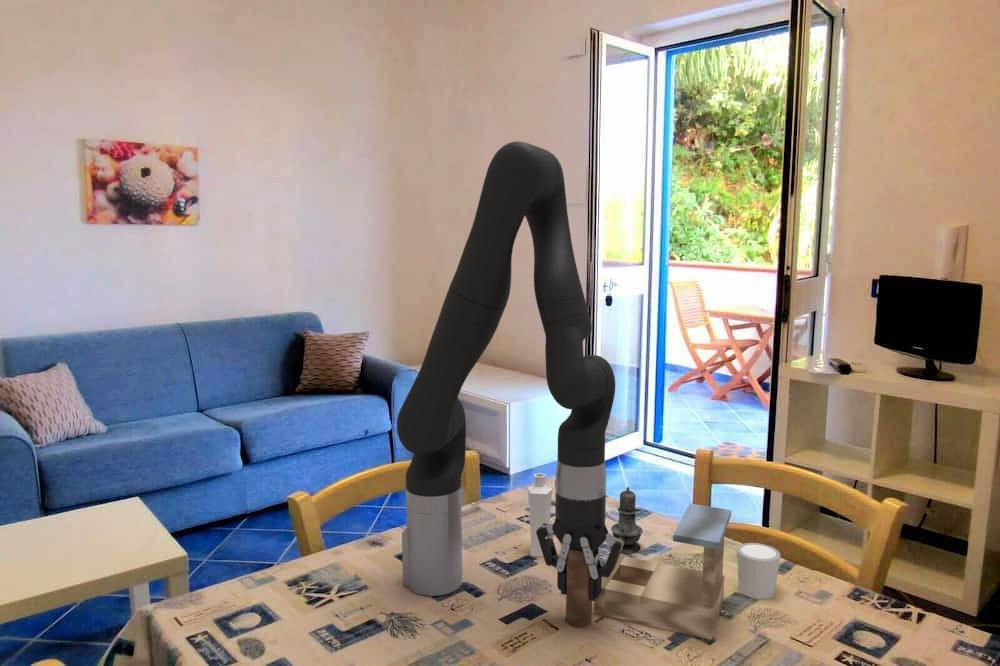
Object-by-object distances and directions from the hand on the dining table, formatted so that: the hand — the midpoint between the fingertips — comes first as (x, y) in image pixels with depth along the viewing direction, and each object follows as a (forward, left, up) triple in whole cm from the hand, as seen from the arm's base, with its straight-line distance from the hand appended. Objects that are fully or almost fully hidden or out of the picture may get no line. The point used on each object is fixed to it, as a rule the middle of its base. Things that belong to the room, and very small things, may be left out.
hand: (579, 594), depth 113 cm
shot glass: (+24, +21, -5) cm, 32 cm away
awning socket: (+11, +9, -4) cm, 14 cm away
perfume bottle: (-14, +19, -4) cm, 24 cm away
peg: (0, 0, -4) cm, 4 cm away
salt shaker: (0, +28, -4) cm, 28 cm away
